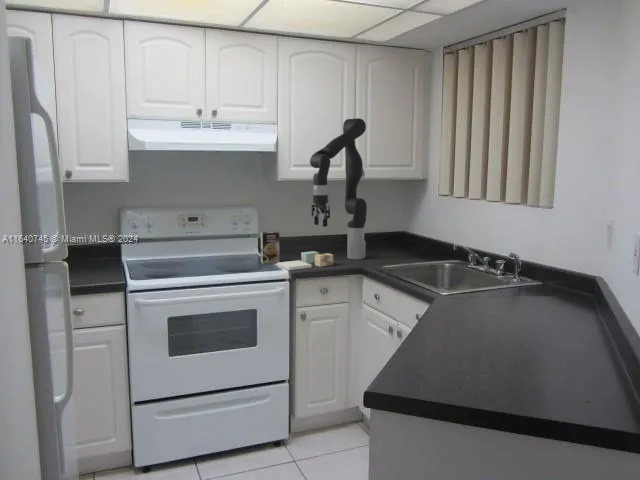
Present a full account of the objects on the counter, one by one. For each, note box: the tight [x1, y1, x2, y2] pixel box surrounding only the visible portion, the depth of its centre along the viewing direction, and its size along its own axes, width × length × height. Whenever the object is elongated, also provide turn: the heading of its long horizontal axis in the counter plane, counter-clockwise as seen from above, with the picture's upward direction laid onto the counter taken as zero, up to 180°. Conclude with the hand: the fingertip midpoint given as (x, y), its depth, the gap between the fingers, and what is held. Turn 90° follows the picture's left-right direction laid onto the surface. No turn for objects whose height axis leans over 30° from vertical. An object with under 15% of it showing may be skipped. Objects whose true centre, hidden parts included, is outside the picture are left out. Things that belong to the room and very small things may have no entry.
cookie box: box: [260, 231, 280, 265], centre depth 278 cm, size 9×6×16 cm
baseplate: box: [276, 259, 313, 271], centre depth 269 cm, size 13×13×2 cm
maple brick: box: [314, 253, 334, 267], centre depth 273 cm, size 8×5×6 cm, turn 122°
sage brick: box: [300, 250, 320, 265], centre depth 279 cm, size 8×5×6 cm, turn 122°
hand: (320, 225), depth 271 cm, fingers open, 8 cm apart
